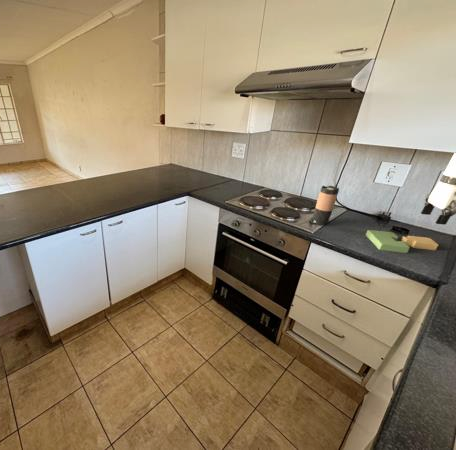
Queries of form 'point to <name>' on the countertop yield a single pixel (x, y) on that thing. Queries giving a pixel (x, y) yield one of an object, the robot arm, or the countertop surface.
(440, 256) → the countertop surface
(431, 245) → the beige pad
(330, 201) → the travel mug
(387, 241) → the green pad
